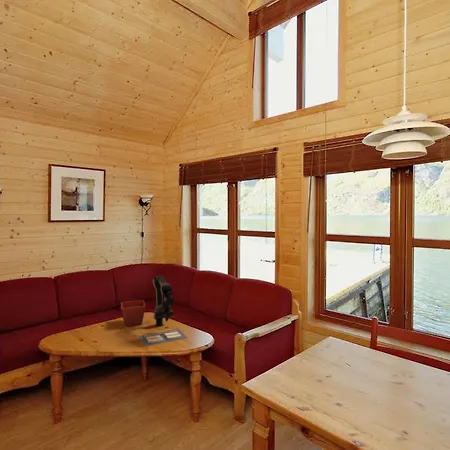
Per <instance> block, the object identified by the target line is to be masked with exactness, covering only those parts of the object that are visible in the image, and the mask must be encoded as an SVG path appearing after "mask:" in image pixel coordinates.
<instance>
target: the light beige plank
mask: <svg viewBox="0 0 450 450" xmlns="http://www.w3.org/2000/svg"><path fill="white" fill-rule="evenodd" d="M146 340H147V341H148V343H149V344H151V343H156V342H161V341H163V338H162V337H161V336H160V335H155V336H150V337H146Z"/></svg>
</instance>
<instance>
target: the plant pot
mask: <svg viewBox="0 0 450 450" xmlns="http://www.w3.org/2000/svg"><path fill="white" fill-rule="evenodd" d="M120 310H121V315H122V320H123V323H124V325H125V327H132V326H141V325H143V321H144V317H145V311H146V303H145V300H144V299H140V300H129V301H122V302H120Z"/></svg>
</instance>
